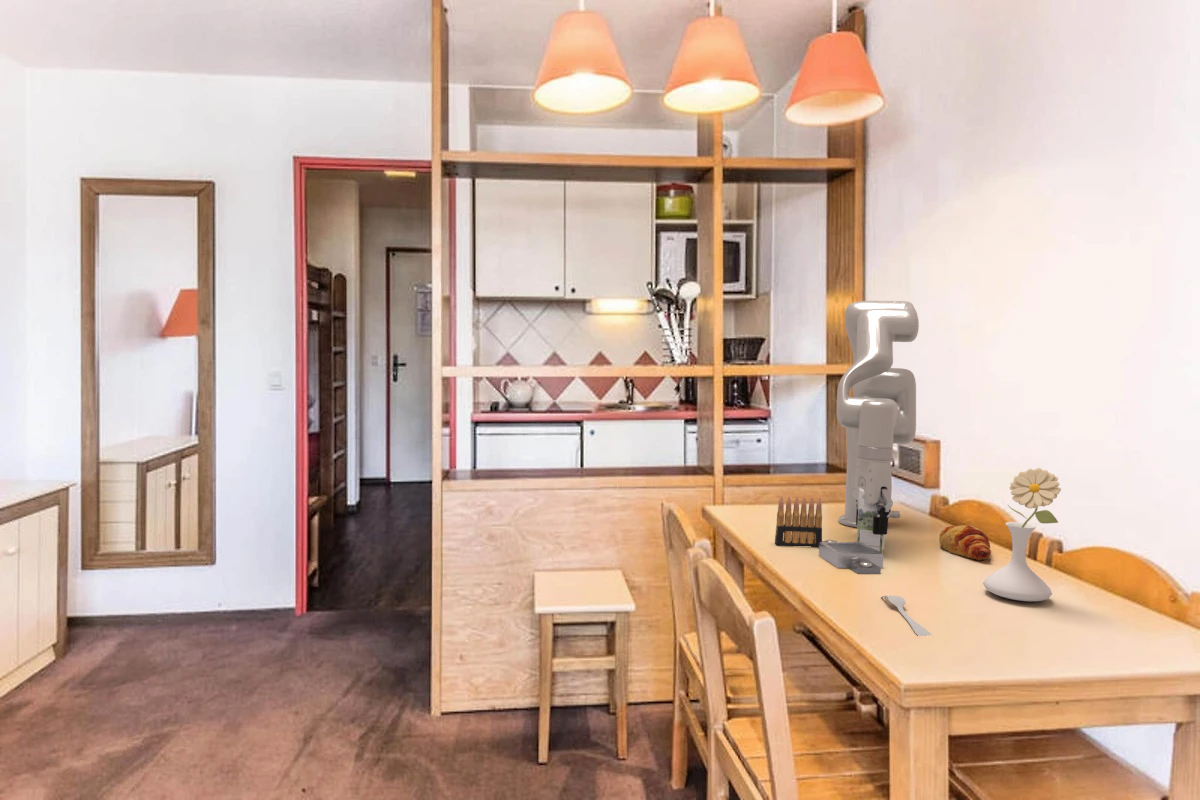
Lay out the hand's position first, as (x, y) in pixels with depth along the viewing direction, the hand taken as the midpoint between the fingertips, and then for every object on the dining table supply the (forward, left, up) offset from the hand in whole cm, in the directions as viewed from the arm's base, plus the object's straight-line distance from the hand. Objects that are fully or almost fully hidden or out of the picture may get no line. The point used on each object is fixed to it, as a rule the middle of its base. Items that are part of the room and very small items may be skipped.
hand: (871, 529), depth 172 cm
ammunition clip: (+15, -5, -6) cm, 17 cm away
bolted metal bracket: (+9, +7, -5) cm, 12 cm away
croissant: (-23, +1, -5) cm, 23 cm away
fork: (+14, +43, -6) cm, 45 cm away
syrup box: (0, 0, -5) cm, 5 cm away
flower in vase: (-13, +34, -5) cm, 37 cm away
